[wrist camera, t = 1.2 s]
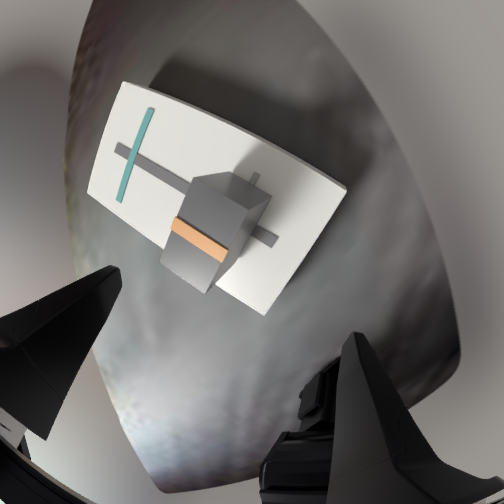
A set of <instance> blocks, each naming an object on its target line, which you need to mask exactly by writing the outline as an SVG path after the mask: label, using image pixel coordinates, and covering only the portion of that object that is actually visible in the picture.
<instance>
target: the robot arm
mask: <svg viewBox="0 0 504 504" xmlns="http://www.w3.org/2000/svg"><path fill="white" fill-rule="evenodd" d="M121 288H122V279H121V273H120V269H119V268H118V267H115V266H113V265H109V266H107V267H104V268H102V269H100V270H98V271H96V272H94V273H92V274H90V275H87V276H85V277H83V278H81V279H79V280H77V281H75V282H73V283H71V284H69V285H67V286H65V287H63V288H61V289H59V290H57V291H55V292H53V293H51V294H49V295H47V296H45V297H43V298H41V299H39V301H38V300H37V301H35V302H33V303H31V304H29V305H27V306H25V307H23V308H21V309H19V310H17V311H14V312H12V313H10V314H8V315H5V316H3V317H1V318H0V499H1V500H2V501H3V502H4V503H5V504H96V503H94V502H93V501H90V500H89V499H87V498H85V497H84V496H82V495H80V494H78V493H77V492H75V491H73V490H72V489H70V488H69V487H67V486H65V485H64V484H62V483H61V482H59V481H58V480H56V479H55V478H53V477H52V476H51V475H49V474H48V473H46V472H45V471H44V470H42V469H41V468H40V467H38V466H37V465H36V464H34V463H33V462H32V461H31V457H30V454H29V450H28V447H27V443H26V439H25V435H24V433H25V431H26V429H27V428H28V429H29V430H30V431H32V432H33V433H35V434H36V435H38V436H39V437H41V438H42V439H44V440H46V439H47V438H48V435H49V433H50V430H51V428H52V426H53V424H54V421H55V419H56V417H57V415H58V412H59V410H60V408H61V406H62V403H63V400H64V399H65V397H66V395H67V393H68V391H69V389H70V387H71V385H72V383H73V381H74V379H75V377H76V375H77V373H78V371H79V369H80V367H81V365H82V363H83V361H84V360H85V358H86V356H87V354H88V352H89V350H90V348H91V347H92V345H93V343H94V341H95V339H96V338H97V336H98V334H99V332H100V331H101V329H102V327H103V325H104V324H105V322H106V320H107V318H108V316H109V314H110V312H111V310H112V307H113V305H114V303H115V301H116V299H117V297H118V295H119V293H120V290H121ZM338 363H340V365H339V364H338ZM299 398H300V399H302V400H301V404H300V408H299V412H298V419H299V420H301V424H300V428H299V432H289V431H287V432H282V433H281V435H280V436H279V438H278V440H277V441H276V443H275V444H274V446H273V447H272V449H271V450H270V452H269V453H268V455H267V456H266V458H265V459H264V461H263V463H262V464H261V466H260V473H259V484H260V488H261V489H260V491H259V493H260V497H261V500H262V504H486V498H487V497H489V496H491V495H493V494H495V493H497V492H498V491H501V490H502V489H504V480H503V479H501V478H500V477H498V476H495V477H492V478H490V479H481V478H478V477H475V476H473V475H471V474H468V473H466V472H464V471H461V470H459V469H456V468H454V467H452V466H450V465H447V464H446V463H444V462H443V461H441V460H440V459H439V458H438V457H437V455H436V454H435V452H434V451H433V449H432V448H431V446H430V445H429V443H428V442H427V440H426V439H425V437H424V436H423V434H422V433H421V431H420V430H419V428H418V426H417V425H416V423H415V421H414V420H413V418H412V416H411V414H410V413H409V411H408V409H407V407H406V406H404V405H405V404H404V402H403V400H402V398H401V397H400V395H399V393H398V391H397V390H396V388H395V386H394V384H393V383H392V381H391V379H390V377H389V376H388V374H387V372H386V370H385V369H384V367H383V365H382V364H381V362H380V360H379V359H378V357H377V355H376V354H375V352H374V350H373V349H372V347H371V345H370V344H369V342H368V340H367V339H366V337H365V335H364V334H363V333H360V332H355V331H354V332H352V333H351V334H350V335H349V337H348V338H347V340H346V341H345V343H344V344H343V347H342V352H341V358H338V359H336V360H335V361H334V362H333V363H332V364H331V365H330V366H329V367H328V368H327V369H325V370H324V371H323V372H320V373H319V374H318V375H316V376H315V377H314V378H313V379H312V380H311V381H310V382H309V383H308V384H307V385H305V387H304V389H303V390H302V391H301V392H300V395H299ZM487 504H504V497H502V498H500V499H498V500H495V501H493V502H490V503H487Z"/></svg>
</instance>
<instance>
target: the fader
mask: <svg viewBox="0 0 504 504" xmlns="http://www.w3.org/2000/svg"><path fill="white" fill-rule="evenodd" d="M271 198H272V196H271V195H270V194H268V193H266V192H265V191H263V190H261V189H260V188H258V187H256V186H255V185H253V184H251V183H249V182H248V181H246V180H244V179H242V178H241V177H239V176H237V175H235V174H234V173H232V172H230V171H228V172H222V173H215V174H209V175H203V176H197V177H193V179H192V181H191V183H190V186H189V188H188V190H187V193H186V195H185V197H184V200H183V202H182V205H181V207H180V210H179V212H178V214H177V217H176V216H175V217H174V220H173V222H172V225H171V227H170V229H171V232H170V235H169V237H168V240H167V243H166V245H165V248H164V251H163V253H162V256H161V259H160V263H161V264H163V265H164V266H165V267H167V268H168V269H170V270H171V271H172V272H174V273H175V274H177V275H178V276H180V277H181V278H182V279H184V280H185V281H187V282H188V283H190V284H191V285H193V286H194V287H195V288H197V289H198V290H200V291H201V292H203V293H204V294H206V292H207V291H208V290H209V289H210V288H211V287H212V286H213V285H214V284H215V283H216V282H217V281H218V280H219V279H220V278H221V277H222V276H223V275H224V274H225V273H226V272H227V271H228V270H229V269H230V268H231V267H232V266H233V265H234V264H235V263H236V261H237V259H238V257H239V256H240V254H241V252H242V250H243V248H244V246H245V245H246V243H247V241H248V239H249V238H250V236H251V234H252V232H253V230H254V229H255V227H256V225H257V223H258V221H259V220H260V218H261V216H262V214H263V212H264V211H265V209H266V207H267V205H268V204H269V202H270V200H271Z"/></svg>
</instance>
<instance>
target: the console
mask: <svg viewBox="0 0 504 504" xmlns="http://www.w3.org/2000/svg"><path fill="white" fill-rule="evenodd" d="M228 171H230V172H232V173H234V174H235V175H237V176H239V177H241V178H242V179H244V180H246V181H248V182H249V183H251V184H253V185H255V186H256V187H258V188H260V189H261V190H263V191H265V192H266V193H268V194H270V195H271V196H272V198H271V200H270V202H269V204H268V205H267V207H266V209H265V211H264V212H263V214H262V216H261V218H260V220H259V221H258V223H257V225H256V227H255V229H254V230H253V232H252V234H251V236H250V238H249V239H248V241H247V243H246V245H245V246H244V248H243V250H242V252H241V254H240V256H239V257H238V259H237V261H236V263H235V264H234V265H233V266H232V267H231V268H230V269H229V270H228V271H227V272H226V273H225V274H224V275H223V276H222V277H221V278H220V279H219V280H218V281H217V282H216V283H215V284H216V285H217V286H219V287H220V288H222V289H223V290H225V291H226V292H228V293H229V294H231V295H232V296H234V297H235V298H237V299H239V300H240V301H242V302H243V303H245V304H246V305H248V306H250V307H251V308H253V309H254V310H256V311H257V312H259V313H261V314H262V315H265V314H266V312H267V311H268V310H269V308H270V307H271V305H272V304H273V302H274V301H275V300H276V298H277V297H278V295H279V294H280V292H281V291H282V290H283V288H284V287H285V285H286V284H287V282H288V281H289V279H290V278H291V277H292V275H293V274H294V272H295V271H296V269H297V268H298V266H299V265H300V263H301V262H302V260H303V259H304V257H305V256H306V254H307V253H308V251H309V250H310V248H311V247H312V245H313V244H314V242H315V241H316V239H317V238H318V236H319V235H320V233H321V232H322V230H323V229H324V227H325V225H326V224H327V222H328V221H329V219H330V218H331V216H332V215H333V213H334V211H335V210H336V208H337V207H338V205H339V203H340V202H341V200H342V199H343V197H344V196H345V194H346V192H347V190H346V186H344V185H343V184H341V183H339V182H338V181H336V180H335V179H333V178H332V177H330V176H328V175H327V174H325V173H323V172H322V171H320V170H319V169H317V168H315V167H314V166H312V165H310V164H308V163H307V162H305V161H303V160H302V159H300V158H298V157H296V156H295V155H293V154H291V153H289V152H288V151H286V150H284V149H282V148H280V147H279V146H277V145H275V144H273V143H271V142H269V141H267V140H265V139H264V138H262V137H260V136H258V135H256V134H254V133H252V132H250V131H248V130H246V129H244V128H242V127H240V126H238V125H236V124H234V123H232V122H230V121H227V120H225V119H223V118H221V117H219V116H217V115H215V114H212V113H210V112H208V111H206V110H203V109H201V108H199V107H196V106H194V105H192V104H189V103H187V102H185V101H182V100H180V99H177V98H175V97H172V96H170V95H167V94H165V93H162V92H159V91H157V90H154V89H151V88H149V87H146V86H141V85H137V84H133V83H129V82H124V81H123V83H122V85H121V88H120V90H119V92H118V95H117V97H116V100H115V102H114V105H113V108H112V110H111V113H110V116H109V118H108V121H107V124H106V127H105V130H104V133H103V136H102V139H101V142H100V146H99V149H98V152H97V156H96V159H95V163H94V167H93V170H92V174H91V178H90V182H89V187H88V191H87V193H88V194H89V195H91V196H92V197H93V198H95V199H96V200H97V201H99V202H100V203H101V204H102V205H104V206H105V207H106V208H108V209H109V210H110V211H112V212H113V213H114V214H116V215H117V216H118V217H120V218H121V219H122V220H124V221H125V222H127V223H128V224H129V225H131V226H132V227H133V228H135V229H136V230H138V231H139V232H140V233H142V234H143V235H144V236H146V237H147V238H149V239H150V240H151V241H153V242H154V243H156V244H157V245H158V246H160V247H161V248H163V249H164V248H165V245H166V243H167V240H168V237H169V235H170V232H171V229H170V227H171V225H172V222H173V220H174V217H175V216H176V217H177V214H178V212H179V210H180V207H181V205H182V202H183V200H184V197H185V195H186V193H187V190H188V188H189V186H190V183H191V181H192V179H193V177H197V176H203V175H209V174H215V173H222V172H228Z"/></svg>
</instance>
